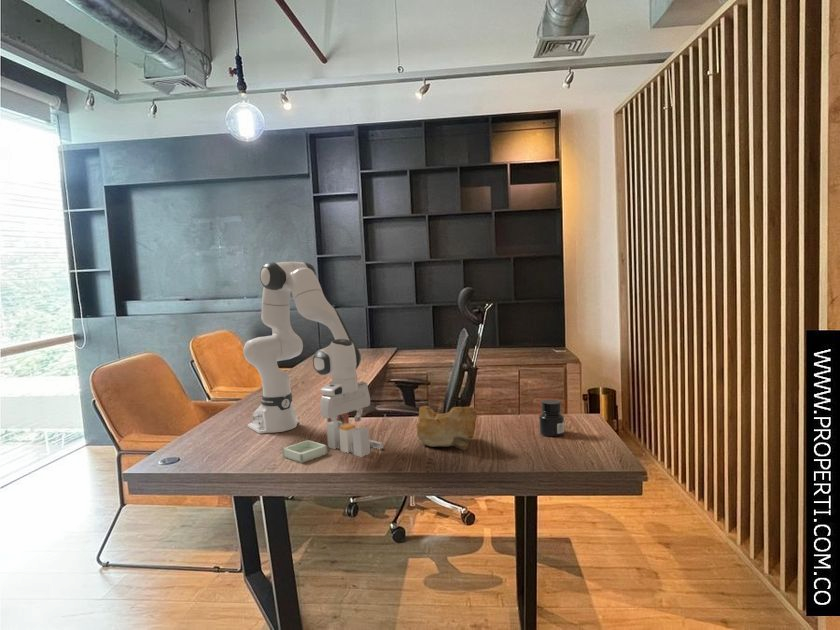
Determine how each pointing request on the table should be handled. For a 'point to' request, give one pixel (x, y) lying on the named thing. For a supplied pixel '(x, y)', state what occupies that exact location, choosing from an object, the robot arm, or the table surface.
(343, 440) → the block
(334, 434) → the block
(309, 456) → the tray
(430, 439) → the rough brown rock
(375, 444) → the rail
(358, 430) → the block
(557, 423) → the ink bottle
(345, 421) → the small box
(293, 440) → the table surface
